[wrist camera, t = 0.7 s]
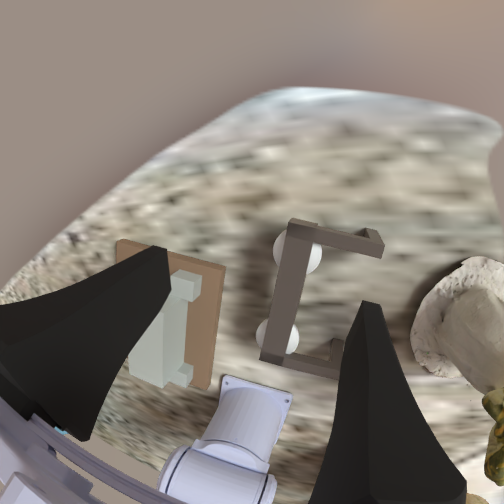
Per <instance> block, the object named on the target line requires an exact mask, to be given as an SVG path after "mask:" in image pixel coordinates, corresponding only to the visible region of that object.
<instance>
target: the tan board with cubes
mask: <svg viewBox="0 0 504 504" xmlns="http://www.w3.org/2000/svg"><path fill="white" fill-rule="evenodd" d="M149 247H151V246H148V245H144V244H141V243H137V242H133V241H130V240H126V239H121V240H119V241H117V250H116V264H117V263H119V262H121V261H123V260H125V259H127V258H129V257H131V256H133V255H134V254H136V253H138V252H140V251H142V250H144V249H147V248H149ZM167 253H168V263H169V272H170V280H171V288H172V290H171V292H170V294H169V296H168V298H167V300H166V302H165V303H164V305H163V307H162V309H161V310H160V312H159V313H158V315H157V316H156V318H155V319H154V320H153V322H152V323H151V324H150V326H149V327H148V328H147V330H146V331H145V333H144V334H143V335H142V337H141V338H140V339H139V341H138V342H137V343H136V345H135V346H134V347H133V349H132V350H131V352H130V353H129V355H128V356H127V358H128V361H129V373H130V374H131V375H133V376H135V377H137V378H139V379H142V380H144V381H146V382H148V383H151V384H153V385H155V386H158V387H160V388H162V389H163V388H164V386H165V385H166V384H167V383H168V381H169V382H172V383H174V384H177V385H179V386H182V387H185V388H186V387H187V386H188V385H189V384H191V385H194V386H197V387H199V388H202V389H205V390H207V389H208V387H209V385H210V383H211V375H212V367H213V359H214V351H215V343H216V336H217V328H218V321H219V313H220V306H221V299H222V291H223V284H224V277H225V270H226V266H222V265H218V264H214V263H211V262H207V261H203V260H199V259H196V258H192V257H188V256H184V255H181V254H177V253H173V252H170V251H167Z"/></svg>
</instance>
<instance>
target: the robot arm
mask: <svg viewBox="0 0 504 504" xmlns="http://www.w3.org/2000/svg"><path fill="white" fill-rule="evenodd" d="M171 290H172V288H171V280H170V272H169V263H168V253H167V249H165V248H161V247H158V246H154V245H153V246H151V247H149V248H147V249H144V250H142V251H140V252H138V253H136V254H134V255H133V256H131V257H129V258H127V259H125V260H123V261H121V262H119V263H117V264H115V265H113V266H111V267H109V268H107V269H105V270H103V271H101V272H99V273H97V274H95V275H93V276H91V277H89V278H87V279H85V280H83V281H80V282H78V283H76V284H73V285H71V286H68V287H66V288H63V289H60V290H58V291H55V292H52V293H49V294H45V295H42V296H39V297H36V298H32V299H28V300H24V301H20V302H15V303H10V304H4V305H0V480H1V482H2V483H3V484H4V485H5V486H4V488H3V490H2V491H1V492H0V504H106V503H104V502H103V501H101V500H99V499H97V498H96V497H94V496H93V495H91V494H90V493H89V492H90V491H91V489H92V487H93V483H92V482H90V481H88V480H87V479H85V478H84V477H82V476H81V475H80V474H78V473H77V472H75V471H74V470H72V469H71V468H69V467H68V466H66V465H65V464H64V463H62V462H61V461H59V460H58V459H57V457H56V451H58V452H59V453H61V454H62V455H63V456H65V457H66V458H67V459H69V460H70V461H71V462H73V463H74V464H76V465H77V466H79V467H80V468H82V469H83V470H85V471H86V472H88V473H89V474H91V475H93V476H94V477H96V478H97V479H99V480H101V481H102V482H104V483H105V484H107V485H109V486H111V487H112V488H114V489H116V490H118V491H119V492H121V493H123V494H125V495H127V496H129V497H130V498H132V499H134V500H136V501H138V502H140V503H142V504H272V502H273V499H274V496H275V492H276V488H277V481H276V479H275V476H274V475H271V474H268V475H267V472H268V469H269V466H270V464H268V461H269V458H270V455H271V452H272V449H273V445H274V444H276V442H277V439H278V437H279V434H280V431H281V429H282V426H283V423H284V421H285V418H286V415H287V412H288V410H289V407H290V404H291V401H292V398H293V395H292V394H291V393H288V392H284V391H280V390H276V389H273V388H269V387H266V386H262V385H259V384H255V383H252V382H248V381H245V380H242V379H239V378H235V377H232V376H229V375H225V376H224V377H223V379H222V386H221V393H220V399H219V406H218V408H217V410H216V412H215V414H214V416H213V417H212V419H211V421H210V423H209V425H208V427H207V428H206V430H205V432H204V434H203V435H202V437H201V439H200V440H198V439H195V441H194V443H193V444H192V446H191V447H190V446H188V445H182V446H180V447H178V448H176V449H174V450H173V452H172V453H171V454H170V456H169V457H168V459H167V460H166V462H165V464H164V466H163V468H162V470H161V473H160V475H159V478H158V482H157V488H156V489H154V488H152V487H149V486H148V485H145V484H143V483H142V482H140V481H138V480H136V479H134V478H132V477H130V476H128V475H126V474H124V473H123V472H121V471H119V470H117V469H115V468H114V467H112V466H110V465H108V464H107V463H105V462H103V461H102V460H100V459H98V458H96V457H95V456H93V455H92V454H90V453H89V452H87V451H85V450H84V449H83V448H81V447H80V446H78V445H76V444H75V443H74V442H72V441H71V440H69V439H68V438H66V437H65V436H64V435H62V434H61V433H59V432H58V431H57V430H55V429H54V428H55V427H57V428H58V429H60V430H61V431H62V432H63V431H64V430H65V431H66V432H67V433H69V434H70V435H72V436H73V437H75V438H76V439H78V440H79V441H81V442H84V441H88V440H89V439H90V436H91V433H92V430H93V428H94V425H95V422H96V419H97V417H98V414H99V412H100V409H101V407H102V405H103V402H104V400H105V398H106V395H107V393H108V391H109V389H110V387H111V385H112V383H113V381H114V379H115V377H116V375H117V374H118V372H119V370H120V368H121V366H122V364H123V363H124V361H125V359H126V358H127V356H128V355H129V353H130V352H131V350H132V349H133V347H134V346H135V345H136V343H137V342H138V341H139V339H140V338H141V337H142V335H143V334H144V333H145V331H146V330H147V328H148V327H149V326H150V324H151V323H152V322H153V320H154V319H155V318H156V316H157V315H158V313H159V312H160V310H161V309H162V307H163V305H164V303H165V302H166V300H167V298H168V296H169V294H170V292H171ZM226 382H228V383H226ZM286 399H287V400H288V401H287V400H286ZM55 450H56V451H55ZM266 475H267V476H266ZM466 495H467V481H466V480H465V478H464V477H463V476H462V474H461V473H460V472H459V470H458V469H457V468H456V467H455V465H454V464H453V463H452V461H451V460H450V459H449V457H448V456H447V454H446V453H445V451H444V450H443V448H442V447H441V445H440V444H439V442H438V441H437V439H436V437H435V436H434V434H433V432H432V431H431V429H430V427H429V425H428V424H427V422H426V420H425V419H424V417H423V415H422V413H421V411H420V409H419V407H418V405H417V403H416V401H415V399H414V397H413V394H412V392H411V390H410V388H409V385H408V383H407V381H406V378H405V376H404V373H403V371H402V368H401V366H400V363H399V360H398V358H397V355H396V352H395V349H394V346H393V344H392V341H391V338H390V335H389V331H388V328H387V325H386V322H385V319H384V315H383V312H382V308H381V306H380V304H376V303H372V302H368V301H364V300H363V301H362V303H361V306H360V308H359V311H358V313H357V315H356V318H355V320H354V322H353V325H352V327H351V329H350V332H349V334H348V336H347V339H346V343H345V347H344V352H343V357H342V361H341V367H340V376H339V385H338V393H337V401H336V409H335V416H334V422H333V427H332V432H331V435H330V439H329V443H328V446H327V450H326V453H325V457H324V460H323V463H322V466H321V469H320V472H319V475H318V478H317V481H316V484H315V487H314V489H313V492H312V495H311V498H310V500H309V503H308V504H466Z"/></svg>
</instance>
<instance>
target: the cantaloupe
mask: <svg viewBox="0 0 504 504" xmlns="http://www.w3.org/2000/svg"><path fill="white" fill-rule="evenodd" d="M466 504H489V503H488V502H487V501H486V500H485V499H483V498H482V497H480V496H477V495H474V494H469V493H467V495H466Z"/></svg>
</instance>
